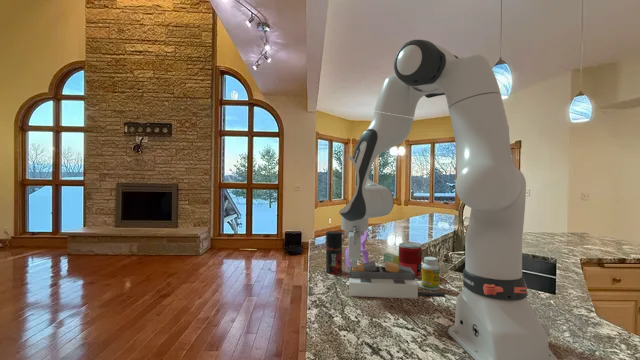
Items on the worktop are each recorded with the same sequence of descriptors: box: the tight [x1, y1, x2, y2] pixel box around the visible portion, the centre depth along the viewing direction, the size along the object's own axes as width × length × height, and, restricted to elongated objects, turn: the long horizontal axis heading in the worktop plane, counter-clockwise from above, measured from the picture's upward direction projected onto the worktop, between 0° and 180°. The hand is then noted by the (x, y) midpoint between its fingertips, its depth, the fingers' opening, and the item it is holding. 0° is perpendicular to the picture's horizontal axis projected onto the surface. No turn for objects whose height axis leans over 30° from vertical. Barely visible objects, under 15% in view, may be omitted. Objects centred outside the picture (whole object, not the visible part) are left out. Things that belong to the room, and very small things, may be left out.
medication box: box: [383, 252, 399, 265], centre depth 128 cm, size 12×3×4 cm, turn 27°
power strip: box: [348, 265, 446, 300], centre depth 98 cm, size 12×28×6 cm, turn 84°
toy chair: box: [344, 231, 370, 269], centre depth 125 cm, size 8×9×15 cm
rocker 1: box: [383, 261, 411, 273], centre depth 100 cm, size 5×8×2 cm, turn 84°
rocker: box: [352, 260, 377, 272], centre depth 101 cm, size 5×8×2 cm, turn 84°
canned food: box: [398, 242, 422, 278], centre depth 115 cm, size 8×8×11 cm
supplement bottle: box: [421, 256, 440, 291], centre depth 101 cm, size 5×5×10 cm
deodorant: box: [325, 230, 343, 275], centre depth 118 cm, size 6×6×15 cm
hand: (354, 266), depth 102 cm, fingers closed, pressing on rocker
